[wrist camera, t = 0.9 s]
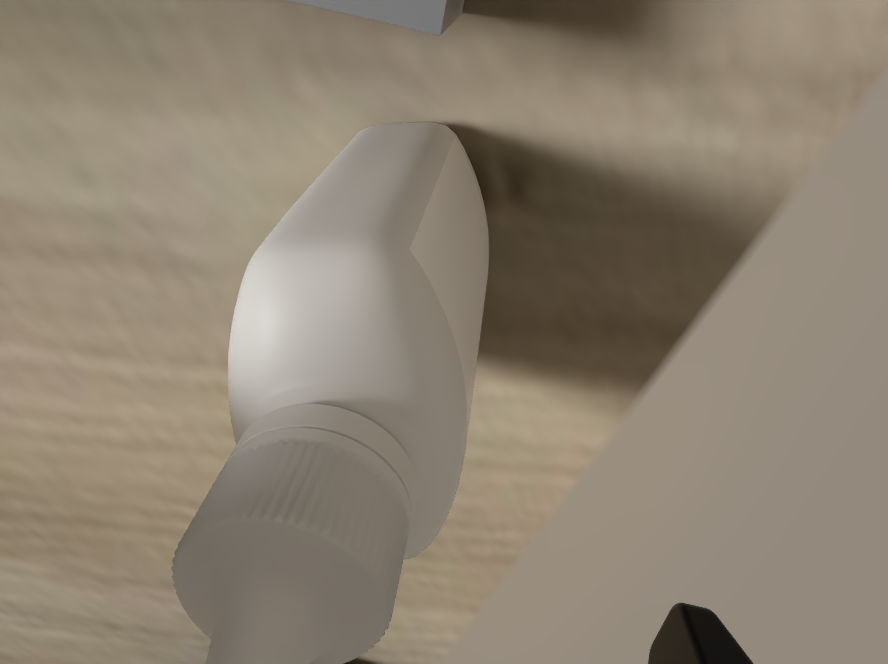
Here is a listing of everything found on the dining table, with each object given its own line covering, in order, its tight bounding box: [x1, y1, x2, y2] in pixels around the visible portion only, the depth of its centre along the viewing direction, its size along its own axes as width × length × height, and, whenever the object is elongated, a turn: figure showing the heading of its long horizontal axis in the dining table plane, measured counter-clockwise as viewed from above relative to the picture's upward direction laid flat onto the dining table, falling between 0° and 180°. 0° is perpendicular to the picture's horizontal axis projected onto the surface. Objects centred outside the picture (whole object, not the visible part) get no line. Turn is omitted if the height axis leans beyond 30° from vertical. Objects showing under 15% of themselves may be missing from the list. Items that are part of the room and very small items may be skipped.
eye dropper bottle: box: [172, 122, 489, 664], centre depth 12 cm, size 4×6×12 cm
